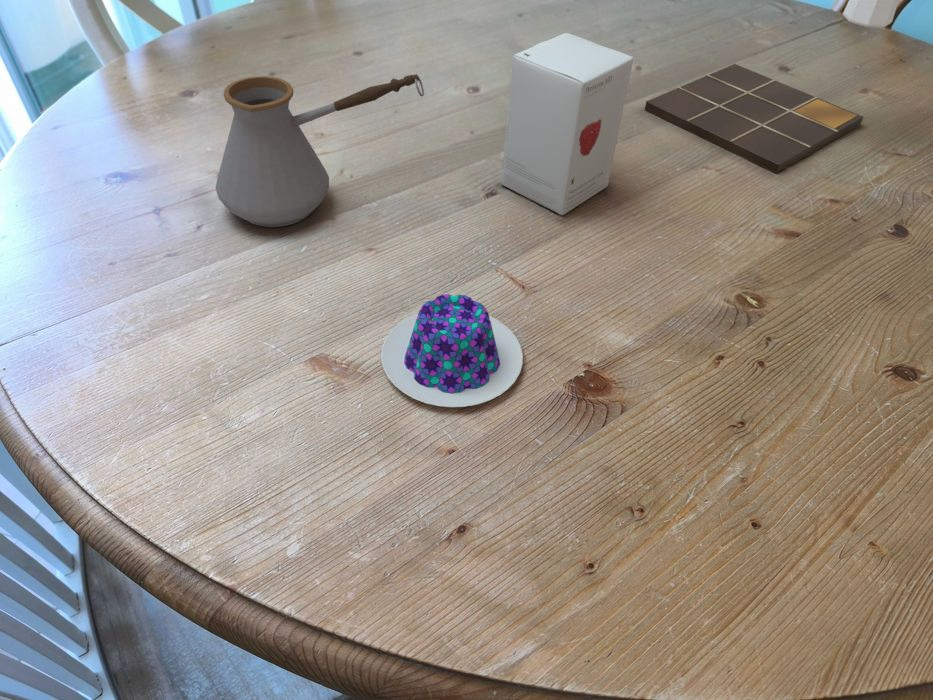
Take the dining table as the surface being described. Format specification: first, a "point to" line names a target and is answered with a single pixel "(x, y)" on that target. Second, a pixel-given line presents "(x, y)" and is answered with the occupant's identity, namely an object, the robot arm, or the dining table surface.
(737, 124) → the board
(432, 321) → the pudding
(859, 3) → the pepper shaker
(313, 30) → the dining table surface
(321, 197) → the coffee pot
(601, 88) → the rectangular carton
